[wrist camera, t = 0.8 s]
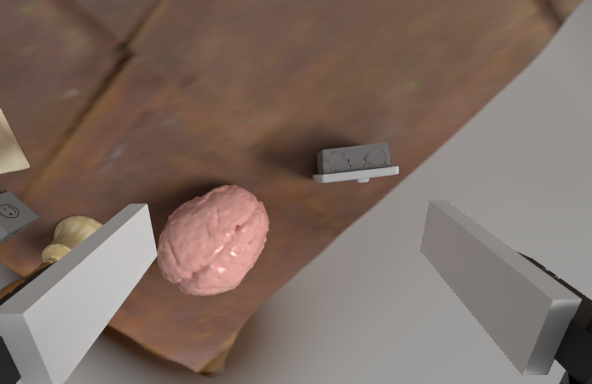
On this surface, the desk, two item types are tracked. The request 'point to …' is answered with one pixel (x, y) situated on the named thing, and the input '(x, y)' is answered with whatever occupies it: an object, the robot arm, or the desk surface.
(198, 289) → the brain
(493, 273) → the robot arm
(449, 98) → the desk surface
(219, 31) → the desk surface
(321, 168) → the electrical switch
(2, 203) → the dice cube
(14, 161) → the hinge board
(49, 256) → the hand bell
